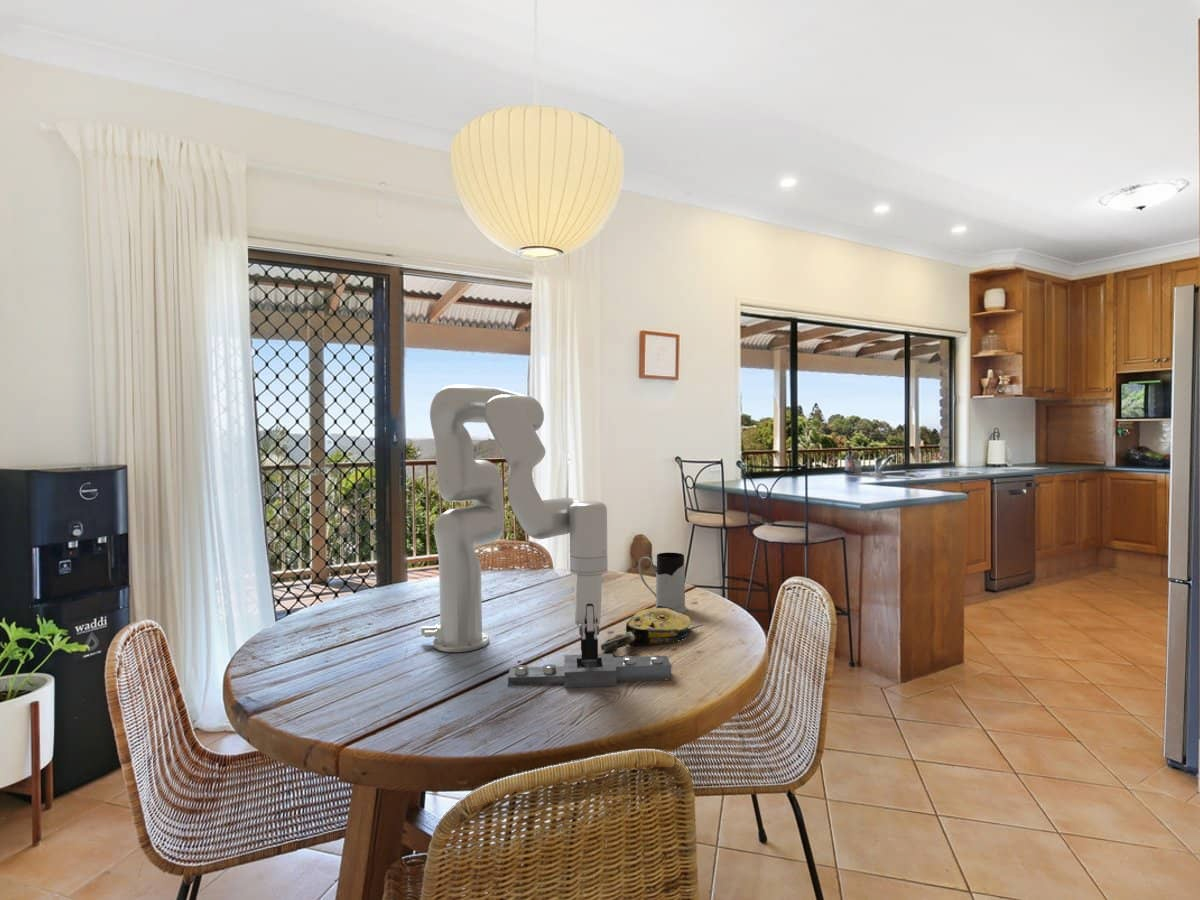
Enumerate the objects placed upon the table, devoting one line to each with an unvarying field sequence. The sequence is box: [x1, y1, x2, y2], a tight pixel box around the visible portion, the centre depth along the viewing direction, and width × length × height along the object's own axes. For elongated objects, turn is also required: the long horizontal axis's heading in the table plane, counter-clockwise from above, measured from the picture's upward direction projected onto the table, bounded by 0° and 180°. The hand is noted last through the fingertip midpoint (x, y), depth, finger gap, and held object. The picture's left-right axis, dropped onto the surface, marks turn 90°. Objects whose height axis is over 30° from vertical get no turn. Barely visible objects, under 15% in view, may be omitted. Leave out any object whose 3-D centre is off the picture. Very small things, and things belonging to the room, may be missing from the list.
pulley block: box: [600, 606, 704, 653], centre depth 145 cm, size 14×6×30 cm
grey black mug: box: [638, 552, 687, 614], centre depth 170 cm, size 9×14×15 cm, turn 58°
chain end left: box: [507, 663, 617, 689], centre depth 122 cm, size 21×9×2 cm, turn 93°
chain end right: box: [563, 653, 672, 683], centre depth 123 cm, size 21×9×4 cm, turn 93°
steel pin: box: [578, 624, 600, 668], centre depth 122 cm, size 4×4×10 cm
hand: (589, 653), depth 122 cm, fingers open, 4 cm apart
